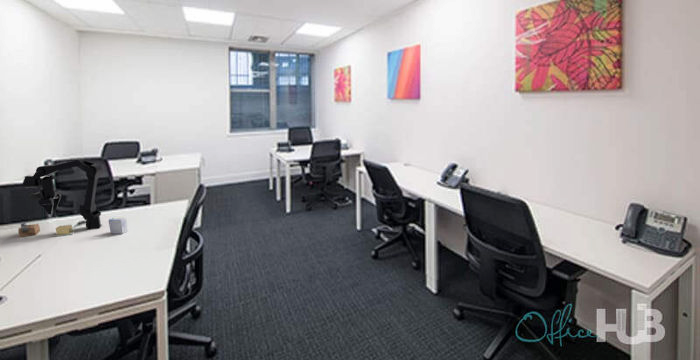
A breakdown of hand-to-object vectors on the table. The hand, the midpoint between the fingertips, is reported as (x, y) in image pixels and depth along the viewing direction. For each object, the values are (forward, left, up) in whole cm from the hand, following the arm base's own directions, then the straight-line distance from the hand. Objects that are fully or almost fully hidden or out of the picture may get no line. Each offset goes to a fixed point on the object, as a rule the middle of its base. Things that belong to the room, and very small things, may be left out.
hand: (52, 212), depth 200 cm
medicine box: (-35, +21, -11) cm, 42 cm away
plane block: (+11, +2, -11) cm, 16 cm away
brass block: (-7, +10, -11) cm, 16 cm away
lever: (+11, +8, -6) cm, 15 cm away
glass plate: (-7, +10, -11) cm, 17 cm away
